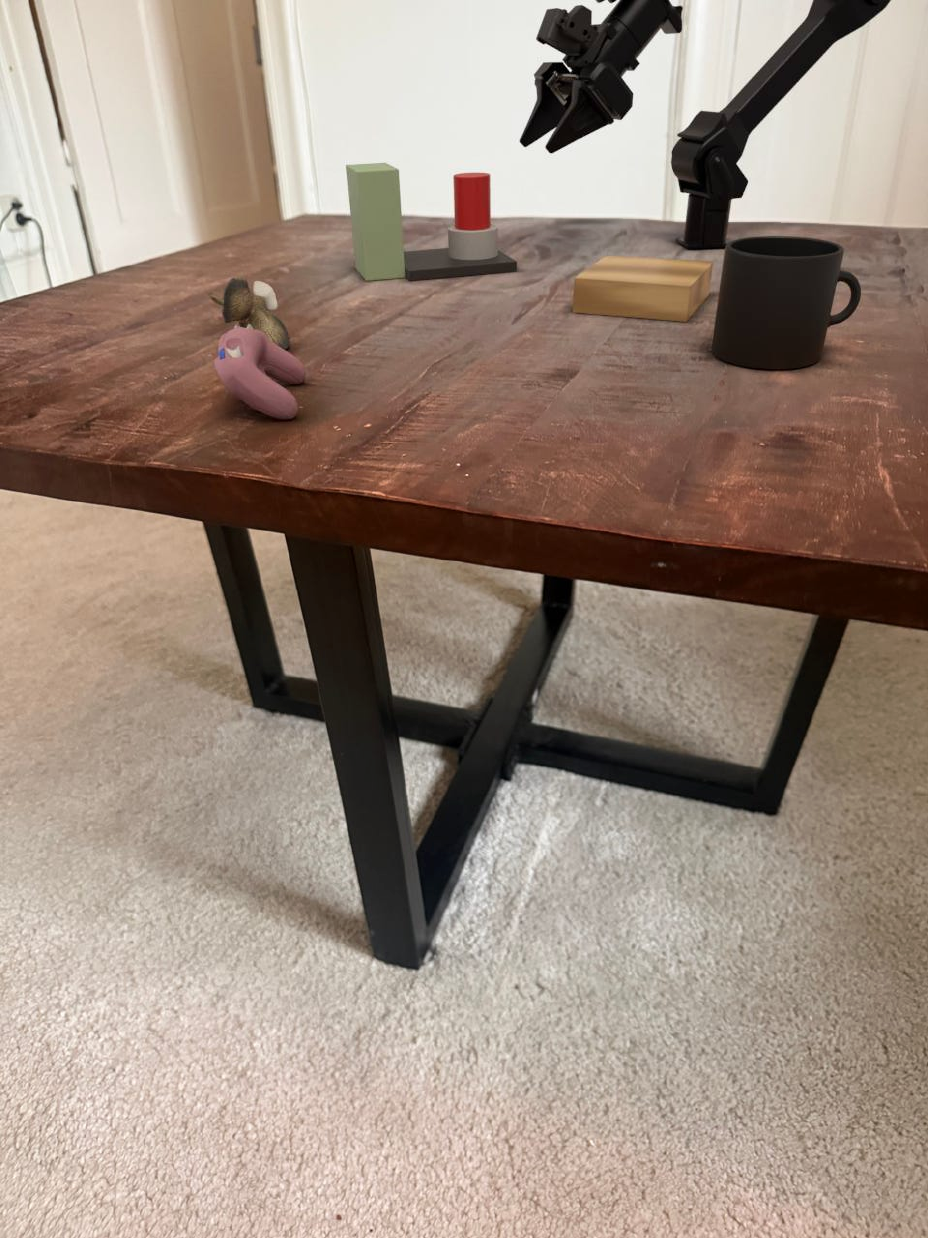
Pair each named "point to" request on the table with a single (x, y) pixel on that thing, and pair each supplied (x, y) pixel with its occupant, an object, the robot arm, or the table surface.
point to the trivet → (643, 288)
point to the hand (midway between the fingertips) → (534, 147)
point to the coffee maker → (383, 235)
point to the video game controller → (258, 371)
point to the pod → (472, 201)
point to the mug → (779, 300)
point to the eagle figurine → (252, 309)
